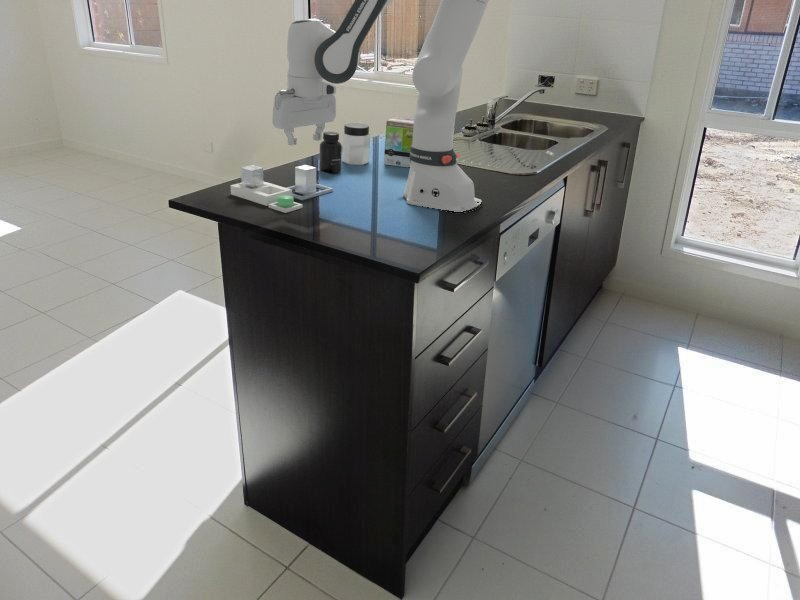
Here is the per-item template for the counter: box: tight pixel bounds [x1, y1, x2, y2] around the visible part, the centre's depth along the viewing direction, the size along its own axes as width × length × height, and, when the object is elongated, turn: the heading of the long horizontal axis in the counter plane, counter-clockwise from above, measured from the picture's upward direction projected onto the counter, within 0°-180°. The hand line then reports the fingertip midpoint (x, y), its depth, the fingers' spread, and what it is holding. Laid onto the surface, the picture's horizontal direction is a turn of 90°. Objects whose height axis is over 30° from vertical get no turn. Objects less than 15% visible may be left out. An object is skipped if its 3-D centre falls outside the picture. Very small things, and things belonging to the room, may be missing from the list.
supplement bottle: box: [318, 131, 343, 175], centre depth 194 cm, size 7×7×12 cm
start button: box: [277, 196, 295, 208], centre depth 158 cm, size 4×4×3 cm
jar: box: [341, 122, 371, 166], centre depth 208 cm, size 9×8×12 cm
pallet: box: [229, 180, 293, 207], centre depth 165 cm, size 14×9×4 cm, turn 54°
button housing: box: [268, 201, 304, 214], centre depth 159 cm, size 6×6×2 cm
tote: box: [286, 183, 334, 201], centre depth 172 cm, size 9×12×2 cm
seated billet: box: [240, 164, 265, 189], centre depth 166 cm, size 4×4×7 cm
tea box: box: [383, 115, 414, 168], centre depth 208 cm, size 15×10×15 cm, turn 76°
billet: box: [294, 164, 317, 196], centre depth 170 cm, size 4×4×7 cm
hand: (305, 142), depth 166 cm, fingers open, 8 cm apart
